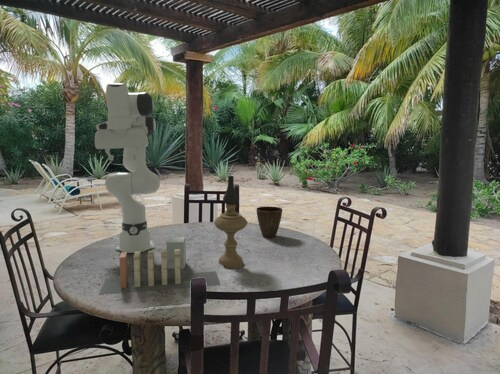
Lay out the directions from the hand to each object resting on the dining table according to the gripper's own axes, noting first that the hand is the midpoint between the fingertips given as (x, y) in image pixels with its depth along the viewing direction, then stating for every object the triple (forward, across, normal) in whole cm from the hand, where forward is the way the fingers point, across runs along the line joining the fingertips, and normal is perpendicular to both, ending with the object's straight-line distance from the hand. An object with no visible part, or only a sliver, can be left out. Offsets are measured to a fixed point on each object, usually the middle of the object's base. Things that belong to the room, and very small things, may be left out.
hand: (123, 159), depth 147 cm
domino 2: (+47, -4, +16) cm, 50 cm away
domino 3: (+47, -9, +16) cm, 50 cm away
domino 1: (+46, +1, +16) cm, 49 cm away
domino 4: (+47, -14, +15) cm, 52 cm away
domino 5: (+48, -19, +15) cm, 53 cm away
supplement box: (+49, -18, -2) cm, 52 cm away
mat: (+48, -13, +15) cm, 52 cm away
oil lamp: (+50, -42, -4) cm, 65 cm away
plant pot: (+52, -68, -46) cm, 97 cm away
